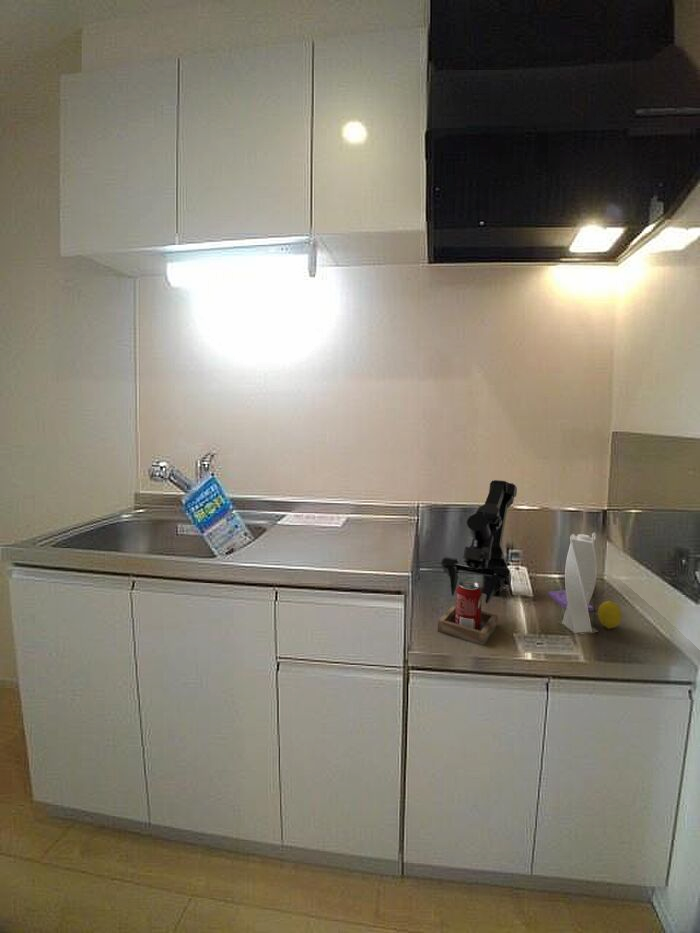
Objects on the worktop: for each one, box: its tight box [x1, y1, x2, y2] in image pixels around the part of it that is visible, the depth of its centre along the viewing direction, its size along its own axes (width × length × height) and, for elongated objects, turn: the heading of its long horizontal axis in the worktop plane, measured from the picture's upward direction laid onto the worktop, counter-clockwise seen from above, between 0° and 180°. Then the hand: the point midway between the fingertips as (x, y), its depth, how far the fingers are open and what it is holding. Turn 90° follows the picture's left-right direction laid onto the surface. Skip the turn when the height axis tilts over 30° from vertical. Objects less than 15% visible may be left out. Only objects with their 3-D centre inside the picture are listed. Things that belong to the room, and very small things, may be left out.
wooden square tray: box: [437, 603, 498, 646], centre depth 117 cm, size 12×12×3 cm
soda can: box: [455, 580, 483, 629], centre depth 117 cm, size 7×7×12 cm
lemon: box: [597, 600, 622, 629], centre depth 117 cm, size 6×6×8 cm
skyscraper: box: [557, 531, 599, 635], centre depth 116 cm, size 8×8×28 cm
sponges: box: [547, 589, 594, 611], centre depth 133 cm, size 7×13×2 cm, turn 8°
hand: (469, 598), depth 117 cm, fingers open, 9 cm apart
